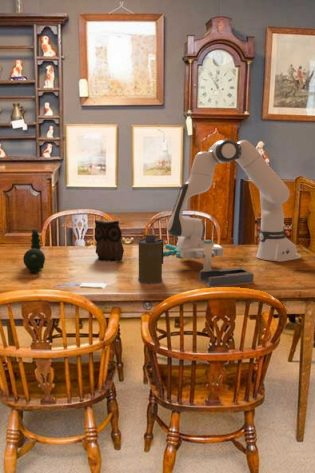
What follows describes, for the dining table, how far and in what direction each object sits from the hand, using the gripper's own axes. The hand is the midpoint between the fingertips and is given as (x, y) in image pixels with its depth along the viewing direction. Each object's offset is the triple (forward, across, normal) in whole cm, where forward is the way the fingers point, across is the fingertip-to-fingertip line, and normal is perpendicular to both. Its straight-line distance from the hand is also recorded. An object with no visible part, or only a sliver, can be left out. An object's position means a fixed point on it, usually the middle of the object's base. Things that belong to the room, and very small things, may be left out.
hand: (208, 255), depth 228 cm
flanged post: (-1, 0, +8) cm, 8 cm away
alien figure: (-40, +3, +9) cm, 41 cm away
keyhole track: (+14, +2, +8) cm, 16 cm away
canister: (+2, -28, +8) cm, 29 cm away
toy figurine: (-30, -73, +8) cm, 80 cm away
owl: (-39, -35, +8) cm, 53 cm away
